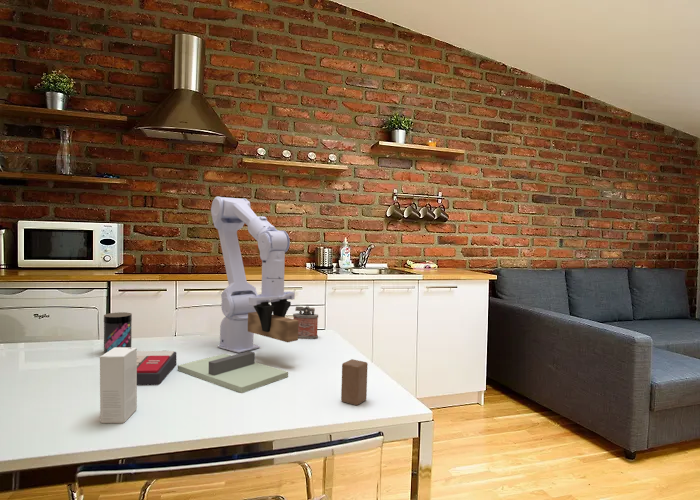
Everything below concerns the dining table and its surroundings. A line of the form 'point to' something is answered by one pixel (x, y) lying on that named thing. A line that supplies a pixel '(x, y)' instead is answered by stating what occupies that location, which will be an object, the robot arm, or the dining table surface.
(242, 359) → the stand
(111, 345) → the supplement container
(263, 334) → the walnut batten
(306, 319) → the lighter
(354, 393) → the wooden block
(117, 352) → the skincare box
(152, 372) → the red and black box
